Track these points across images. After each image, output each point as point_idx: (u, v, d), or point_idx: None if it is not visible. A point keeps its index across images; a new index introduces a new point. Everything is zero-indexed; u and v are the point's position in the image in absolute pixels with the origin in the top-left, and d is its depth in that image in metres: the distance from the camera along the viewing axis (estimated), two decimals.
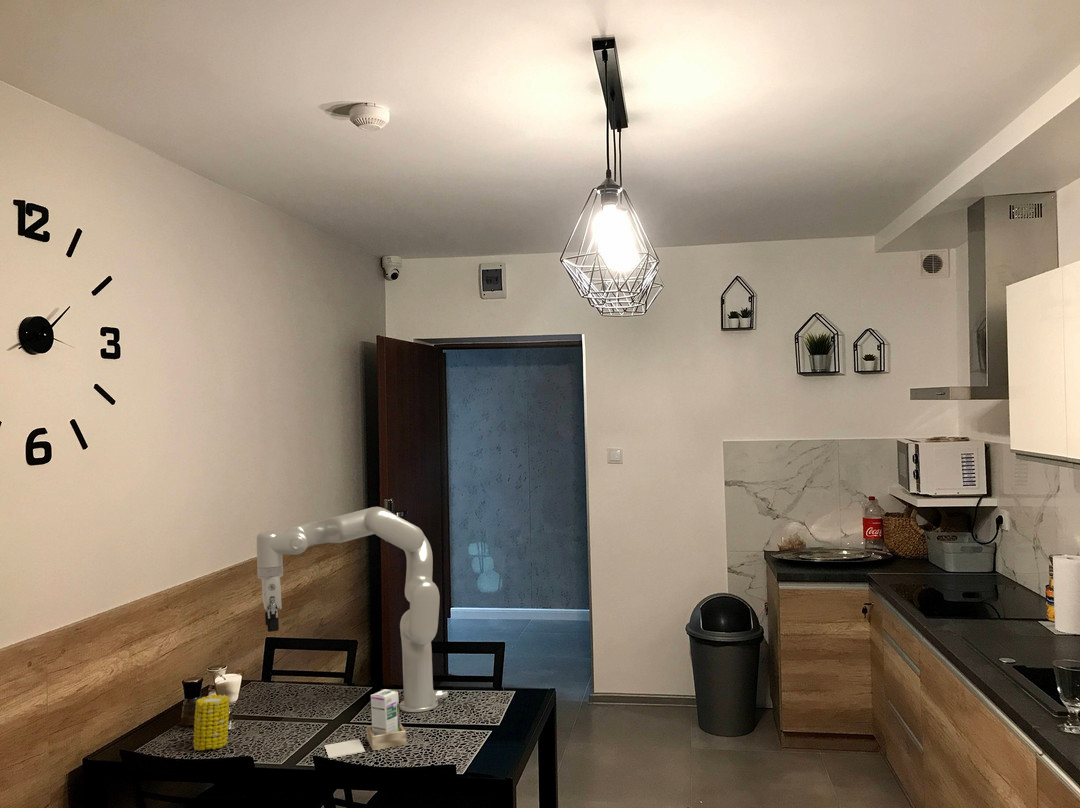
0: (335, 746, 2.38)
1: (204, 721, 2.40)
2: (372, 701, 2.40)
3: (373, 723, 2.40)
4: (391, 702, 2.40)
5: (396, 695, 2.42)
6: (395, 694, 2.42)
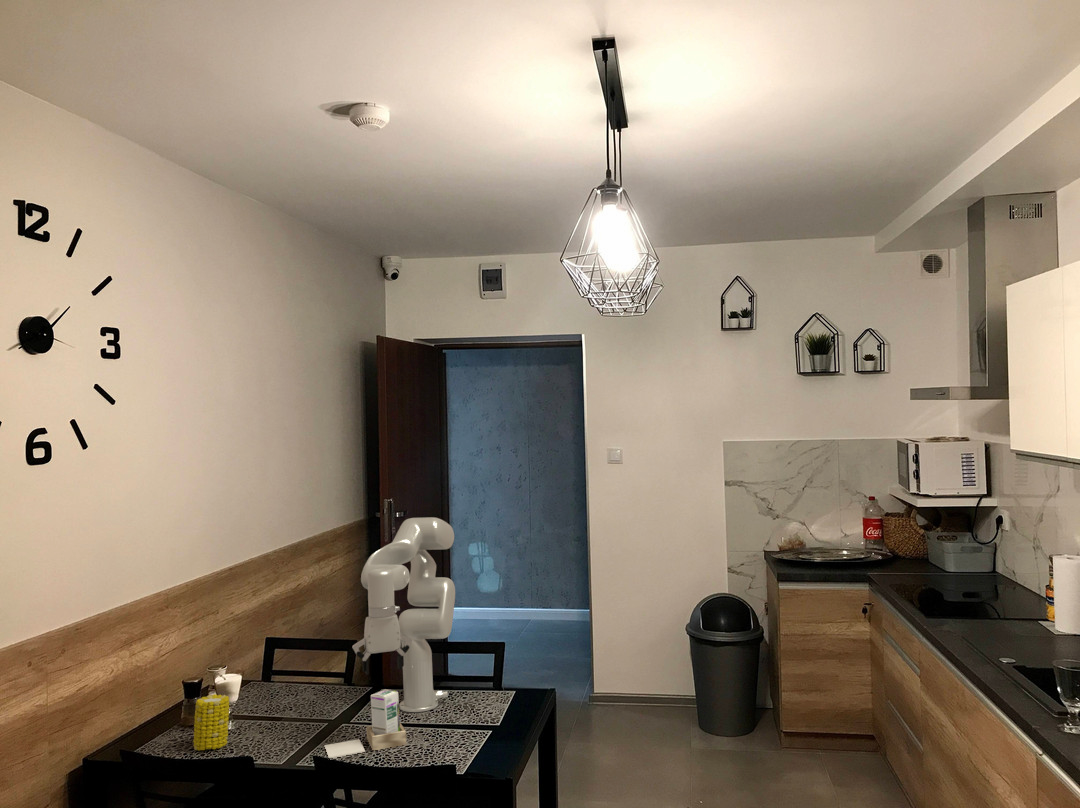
0: (335, 746, 2.38)
1: (204, 721, 2.40)
2: (372, 701, 2.40)
3: (373, 723, 2.40)
4: (391, 702, 2.40)
5: (396, 695, 2.42)
6: (395, 694, 2.42)
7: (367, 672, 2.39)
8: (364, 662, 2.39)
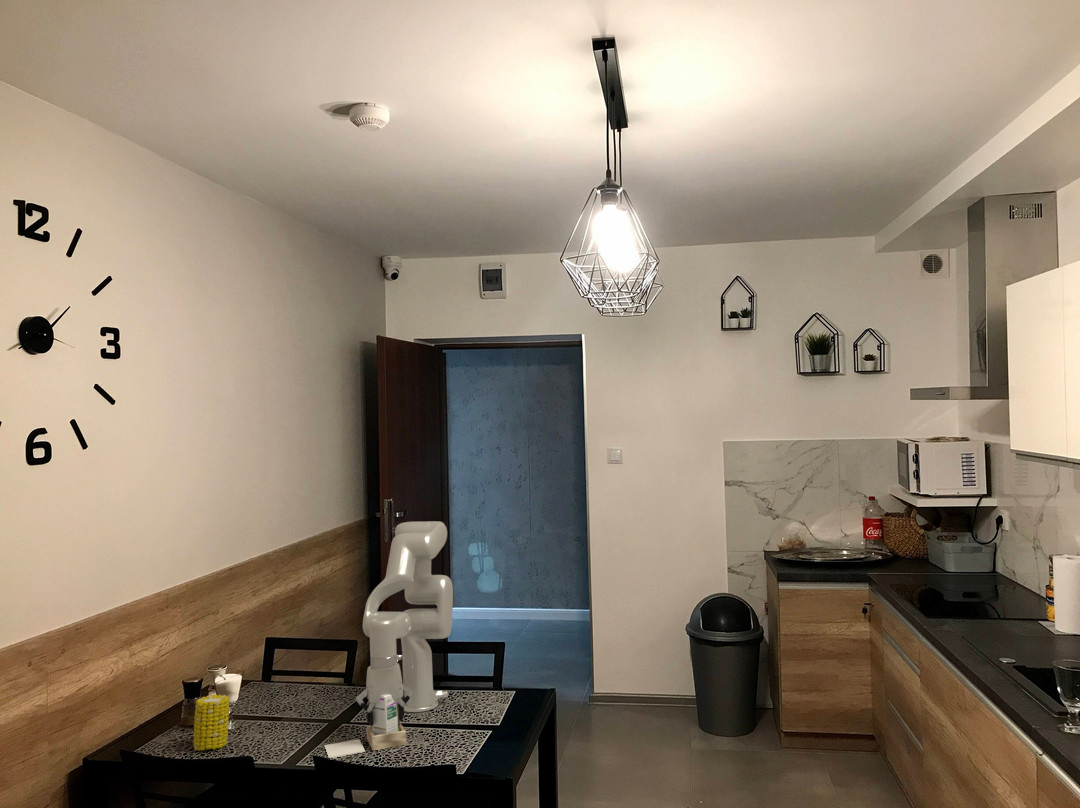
0: (335, 746, 2.38)
1: (204, 721, 2.40)
2: None
3: (373, 723, 2.40)
4: (391, 702, 2.40)
5: None
6: None
7: (371, 723, 2.39)
8: (368, 713, 2.39)
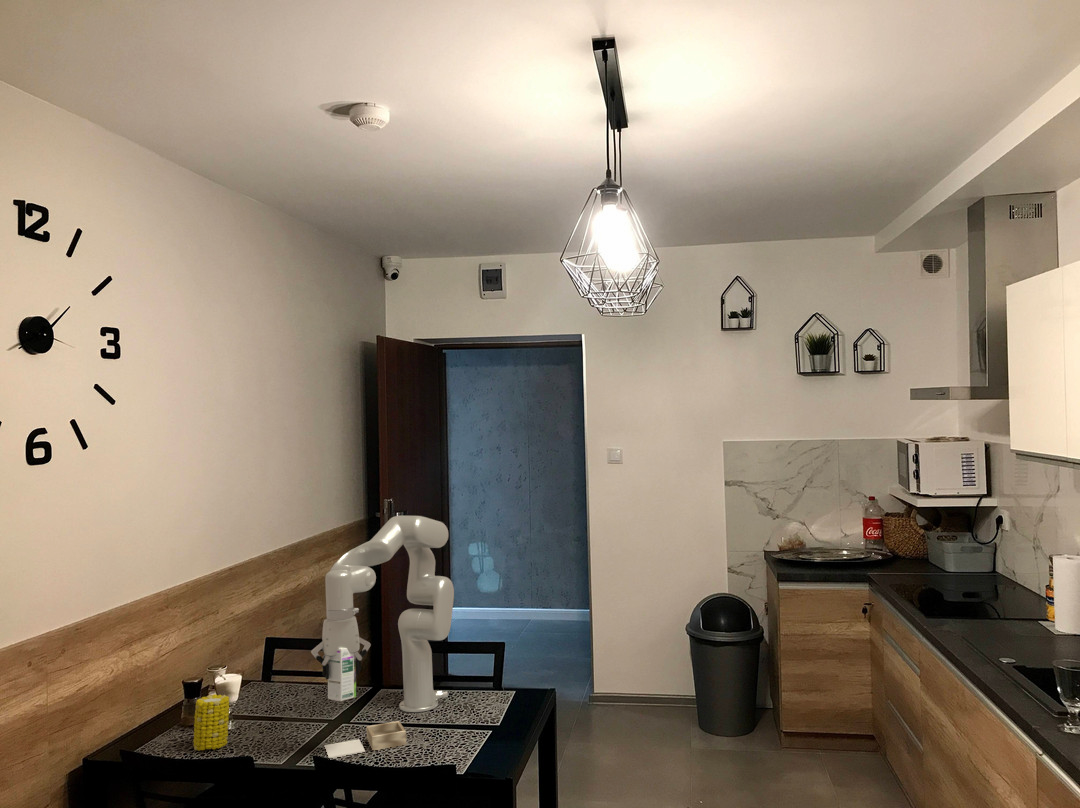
0: (335, 746, 2.38)
1: (204, 721, 2.40)
2: None
3: (329, 677, 2.36)
4: (348, 655, 2.36)
5: None
6: None
7: (327, 677, 2.35)
8: (324, 666, 2.35)
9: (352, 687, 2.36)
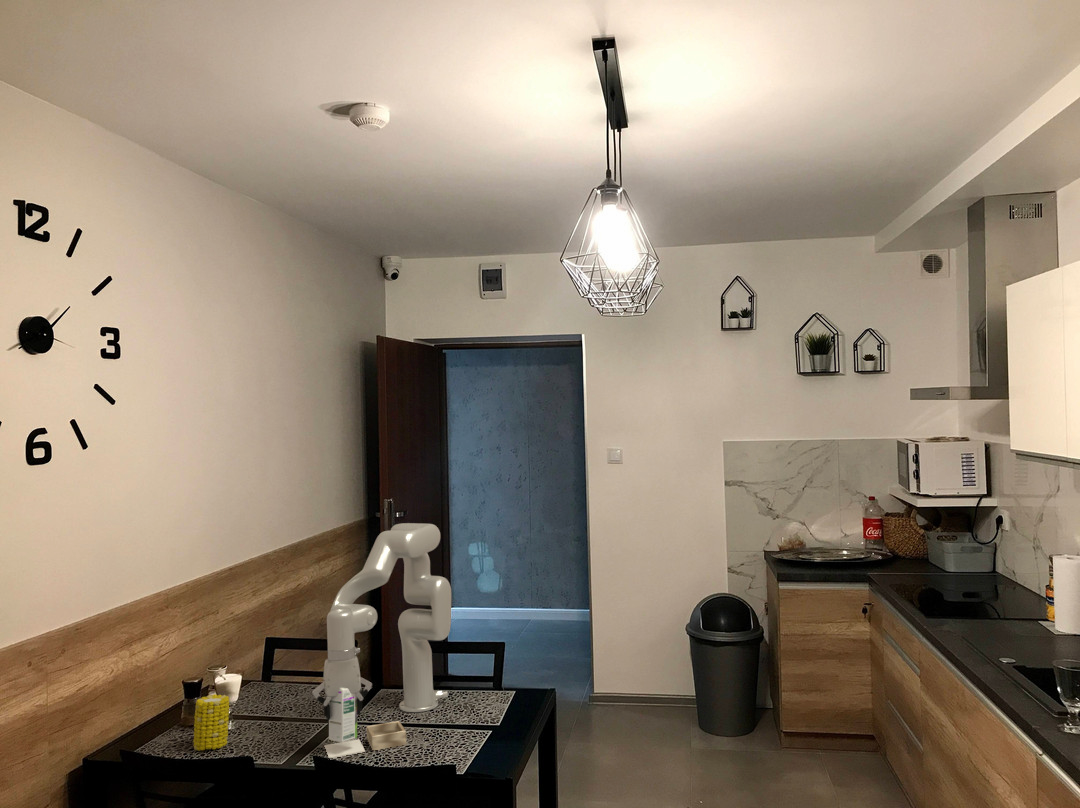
0: (335, 746, 2.38)
1: (204, 721, 2.40)
2: None
3: (330, 717, 2.36)
4: (349, 696, 2.36)
5: None
6: None
7: (328, 717, 2.34)
8: (325, 707, 2.35)
9: (353, 728, 2.36)
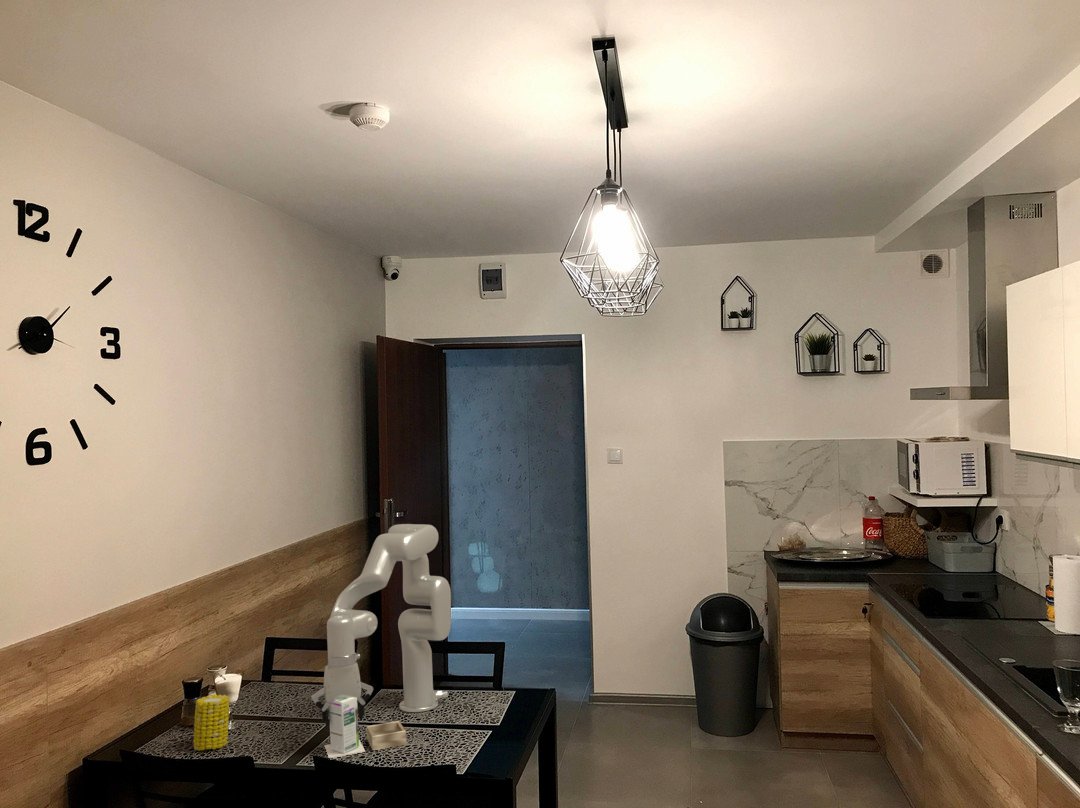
0: None
1: (204, 721, 2.40)
2: (330, 706, 2.35)
3: (331, 728, 2.35)
4: (349, 707, 2.35)
5: (354, 701, 2.36)
6: (353, 699, 2.36)
7: (327, 723, 2.34)
8: (323, 712, 2.35)
9: (355, 737, 2.36)
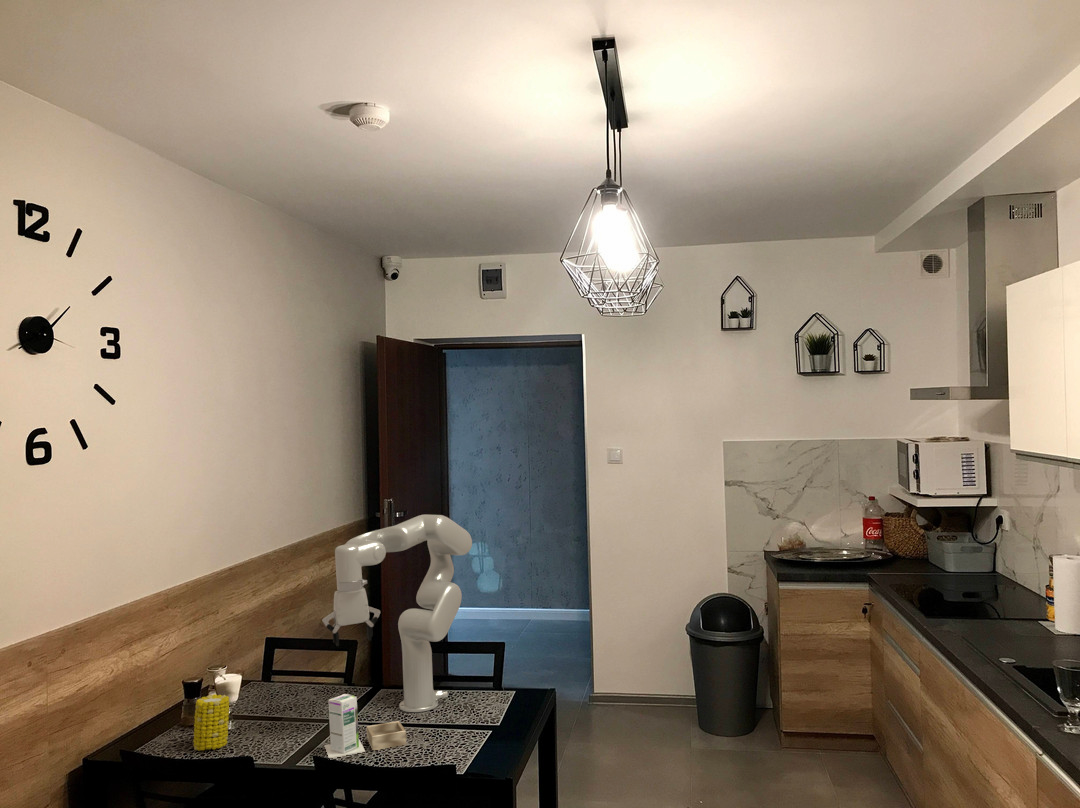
0: None
1: (204, 721, 2.40)
2: (330, 706, 2.36)
3: (331, 728, 2.36)
4: (349, 707, 2.35)
5: (354, 700, 2.37)
6: (353, 699, 2.37)
7: (337, 644, 2.48)
8: (334, 634, 2.48)
9: (354, 738, 2.36)
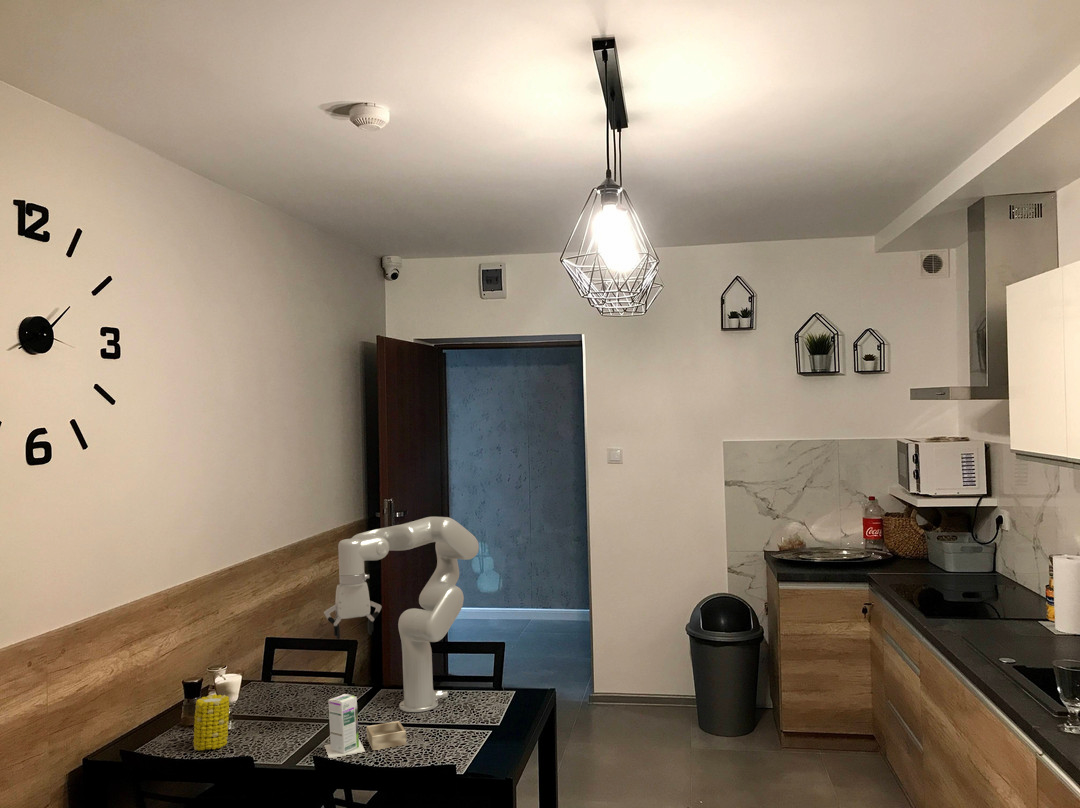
0: None
1: (204, 721, 2.40)
2: (330, 706, 2.36)
3: (331, 728, 2.36)
4: (349, 707, 2.35)
5: (354, 700, 2.37)
6: (353, 699, 2.37)
7: (338, 636, 2.51)
8: (335, 627, 2.51)
9: (354, 738, 2.36)
